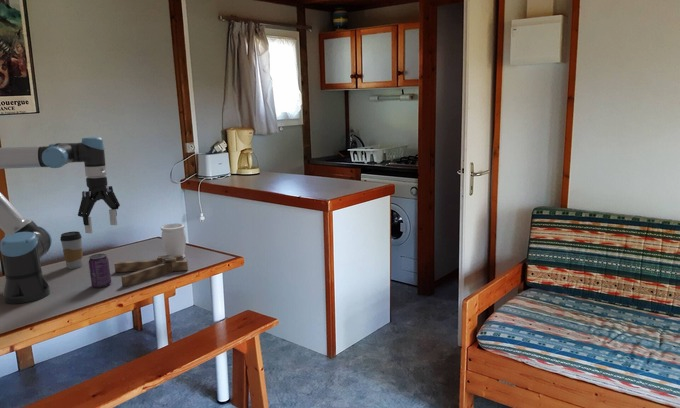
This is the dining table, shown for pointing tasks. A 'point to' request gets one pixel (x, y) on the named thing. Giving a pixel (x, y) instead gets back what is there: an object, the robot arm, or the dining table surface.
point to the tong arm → (150, 264)
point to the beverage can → (99, 270)
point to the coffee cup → (72, 249)
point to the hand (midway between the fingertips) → (101, 228)
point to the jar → (174, 239)
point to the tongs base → (148, 272)
